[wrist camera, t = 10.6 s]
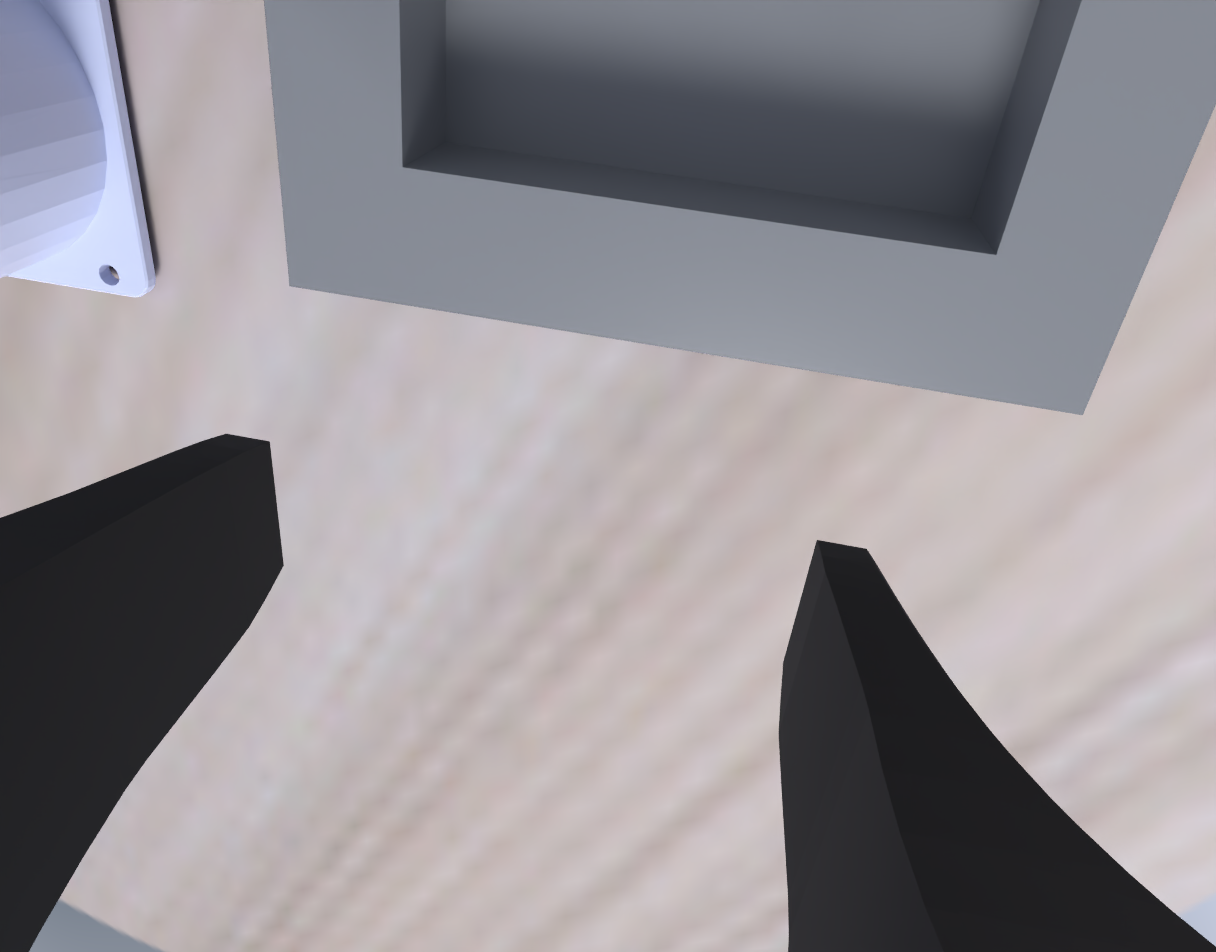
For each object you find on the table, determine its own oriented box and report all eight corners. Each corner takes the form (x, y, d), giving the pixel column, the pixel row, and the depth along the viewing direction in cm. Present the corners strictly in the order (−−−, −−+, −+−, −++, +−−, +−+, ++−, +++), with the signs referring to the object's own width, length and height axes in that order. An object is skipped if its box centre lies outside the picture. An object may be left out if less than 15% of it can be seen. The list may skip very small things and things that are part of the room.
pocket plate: (349, 245, 21) (289, 286, 19) (312, -465, 15) (214, -550, 12) (1044, 353, 20) (1083, 414, 17) (1330, -383, 13) (1456, -459, 11)
